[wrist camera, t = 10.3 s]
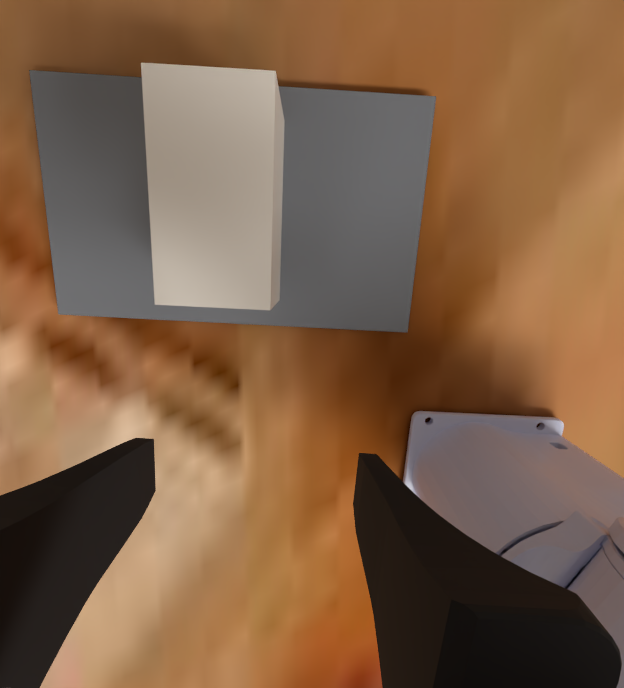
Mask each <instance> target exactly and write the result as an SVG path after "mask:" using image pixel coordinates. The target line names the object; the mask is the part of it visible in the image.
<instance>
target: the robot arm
mask: <svg viewBox="0 0 624 688" xmlns="http://www.w3.org/2000/svg"><path fill="white" fill-rule="evenodd" d="M428 417H431V420H430V421H429V422H425V419H426V418H428ZM538 423H541V424H540V426H538V427H536V426H537V424H538ZM563 428H564V424H563V422H562V421H561V420H559V419H558V418H555V417H536V416H515V415H494V414H473V413H452V412H431V411H417V412H415V413H414V414H413V415H412V417H411V424H410V432H409V439H408V447H407V454H406V462H405V470H404V477H403V482H402V481H401V480H400V479H399V478H398V477H397V476H396V475H395V473H394V472H393V471H392V470H391V469H390V468H389V467H388V466H387V465H386V464H385V463H384V462H383V461H382V459H381V458H380V457H379V456H378V455H377V454H366V453H359V459H358V467H357V476H356V484H355V493H354V501H353V507H354V518H355V527H356V534H357V539H358V544H359V548H360V553H361V557H362V562H363V566H364V571H365V575H366V580H367V584H368V589H369V594H370V598H371V603H372V609H373V614H374V621H375V629H376V636H377V644H378V652H379V660H380V668H381V677H382V685H383V688H624V478H622V477H621V476H620V475H618V474H617V473H615V472H614V471H612V470H611V469H609V468H608V467H606V466H605V465H603V464H602V463H600V462H599V461H597V460H596V459H595V458H593V457H592V456H590V455H589V454H587V453H586V452H584V451H583V450H581V449H580V448H578V447H577V446H575V445H574V444H572V443H571V442H569V441H568V440H567V439H565V438H564V437H562V432H563ZM155 491H156V490H155V462H154V439H145V438H135V439H132V440H129V441H127V442H124V443H122V444H120V445H118V446H116V447H113V448H111V449H109V450H107V451H105V452H103V453H101V454H99V455H96V456H94V457H92V458H90V459H88V460H86V461H84V462H82V463H80V464H77V465H75V466H73V467H71V468H68V469H66V470H64V471H61V472H59V473H57V474H54V475H52V476H50V477H48V478H45V479H43V480H41V481H38V482H36V483H33V484H30V485H28V486H25V487H23V488H20V489H17V490H14V491H12V492H9V493H6V494H3V495H1V496H0V688H40V686H41V684H42V682H43V680H44V678H45V676H46V674H47V672H48V670H49V668H50V666H51V665H52V663H53V661H54V659H55V657H56V655H57V653H58V651H59V650H60V648H61V646H62V644H63V642H64V640H65V638H66V636H67V635H68V633H69V631H70V629H71V628H72V626H73V624H74V622H75V620H76V619H77V617H78V615H79V613H80V612H81V610H82V608H83V606H84V604H85V603H86V601H87V599H88V598H89V596H90V594H91V593H92V591H93V590H94V588H95V586H96V585H97V583H98V582H99V580H100V579H101V577H102V576H103V574H104V573H105V572H106V570H107V569H108V567H109V566H110V564H111V563H112V561H113V560H114V558H115V557H116V555H117V554H118V553H119V551H120V550H121V548H122V547H123V545H124V544H125V542H126V541H127V539H128V538H129V536H130V535H131V533H132V532H133V530H134V529H135V527H136V526H137V524H138V523H139V521H140V520H141V518H142V516H143V515H144V513H145V511H146V509H147V507H148V505H149V503H150V501H151V499H152V497H153V495H154V493H155Z"/></svg>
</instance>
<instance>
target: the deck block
mask: <svg viewBox="0 0 624 688" xmlns="http://www.w3.org/2000/svg"><path fill="white" fill-rule="evenodd" d="M141 73H142V90H143V108H144V125H145V143H146V160H147V178H148V195H149V213H150V230H151V248H152V265H153V283H154V300H155V305H171V306H191V307H212V308H232V309H252V310H271V309H272V308H273V307H274V306H275V305H276V303H277V302H278V301H279V300H280V266H281V230H282V194H283V158H284V122H285V121H284V115H283V110H282V104H281V98H280V93H279V87H278V81H277V76H276V71H270V70H254V69H238V68H221V67H205V66H189V65H173V64H156V63H141Z"/></svg>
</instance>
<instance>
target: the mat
mask: <svg viewBox="0 0 624 688" xmlns="http://www.w3.org/2000/svg"><path fill="white" fill-rule="evenodd" d="M29 72H30V81H31V89H32V97H33V106H34V114H35V122H36V131H37V139H38V147H39V156H40V164H41V172H42V181H43V189H44V197H45V206H46V214H47V222H48V231H49V239H50V247H51V256H52V264H53V272H54V281H55V289H56V297H57V306H58V314H62V315H81V316H100V317H119V318H139V319H158V320H177V321H196V322H216V323H235V324H254V325H273V326H293V327H312V328H331V329H350V330H370V331H389V332H408V324H409V316H410V308H411V299H412V291H413V283H414V275H415V266H416V258H417V250H418V242H419V233H420V225H421V217H422V209H423V200H424V192H425V184H426V176H427V167H428V159H429V151H430V143H431V134H432V126H433V118H434V110H435V101H436V96H421V95H405V94H390V93H374V92H359V91H344V90H328V89H313V88H297V87H282V86H278V87H279V93H280V98H281V104H282V110H283V115H284V121H285V122H284V158H283V194H282V230H281V266H280V300H279V301H278V302H277V303H276V305H275V306H274V307H273V308H272V309H271V310H252V309H232V308H212V307H191V306H171V305H155V300H154V283H153V265H152V248H151V230H150V213H149V195H148V178H147V160H146V143H145V125H144V108H143V90H142V77H128V76H112V75H97V74H81V73H66V72H51V71H35V70H29Z"/></svg>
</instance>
